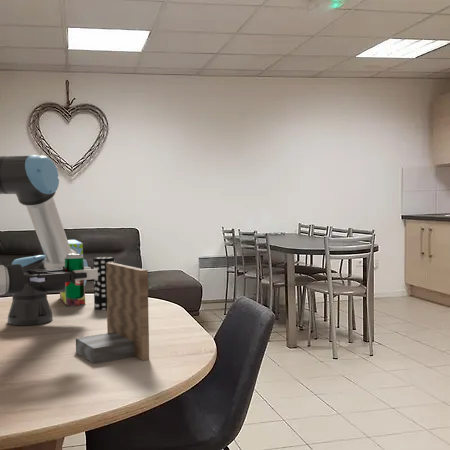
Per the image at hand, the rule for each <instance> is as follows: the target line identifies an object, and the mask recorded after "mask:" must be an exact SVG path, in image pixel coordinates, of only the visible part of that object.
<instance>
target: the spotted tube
mask: <svg viewBox="0 0 450 450" xmlns="http://www.w3.org/2000/svg"><path fill="white" fill-rule="evenodd" d="M115 258H116V257H114V256H97V257H93V263H92V265H93V269H98V279H93V299H94V302H93V303H94V307H93V308H94V309H95V310H98V311H105V310H106V311H107V286H106V263H111V262H113V263H116V261H115V260H116V259H115Z"/></svg>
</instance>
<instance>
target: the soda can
mask: <svg viewBox="0 0 450 450" xmlns="http://www.w3.org/2000/svg"><path fill="white" fill-rule="evenodd" d="M84 260H85V258H84V255H83V256H82V254H66V257H65V272H70V271H73V270H84ZM65 296H66V298H67V299H80V298H83V297H84V280H78V281H75V284H73V283H72V282H65Z"/></svg>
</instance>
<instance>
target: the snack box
mask: <svg viewBox="0 0 450 450" xmlns="http://www.w3.org/2000/svg"><path fill="white" fill-rule="evenodd" d="M67 240H68V243H69V246H70V249H72V250H74V251H75V252H76V253H77V254H82V256H83V257H84V244H83V242H81V241H79V240H77V239H67ZM85 287H86V286H85ZM85 287H84V297H83V298H80V299H67V298H66V296H65V292H59V298H60V299H61V301H62V300H63V301H62V302H63V303H64V305H65V304H66V305H75V306H81V305H80V304H85V305H86V292H85V291H86V290H85ZM66 305H65V306H66Z"/></svg>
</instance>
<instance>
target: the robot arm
mask: <svg viewBox="0 0 450 450" xmlns="http://www.w3.org/2000/svg"><path fill="white" fill-rule="evenodd" d="M59 184H60V179H59V172H58V168H57V166H56V165H55V162H53V160H52V159H51V158H50V157H48V156H46V155H37V154H31V155H9V156H8V155H7V156H6V155H0V195H16V197H17V200H18V202H19V203H20V204H21V205H22V206H25V207H26V209H27V212H28V215H29V217H30V220H31V223H32V225H33V227H34V231H35V233H36V235H37V239H38V242H39V243H40V247H41V250H42V251H43V252H42V253H43V254H38V255H33V256H25V257H20V258H16V259H15V258H14V260H13V261H12V262H11V264H7V265H3V264H0V296H1V295H5V294H8V295H11V296H12V301H11V304H10V308H9V311H8V315H7V323H9V325H11V324H12V325H13V326H35V325H42V324H46V323H49V322H52V321H53V318H54V317H53V314H54V313H53V312H52V308H51V306H50V303H49V300H48V293H60V292H65V282H72V283H73V284H75V281H78V280H84V287H86V284H87V281H88V280H94V279H98V269H94V268H91V266H88V262H87V259H84V270H73V271H70V272H65V257H66V254H77V253H76V252H75V251H74V250H72V249H70V246H69V243H68V240H69V239H68V238H67V235H66V231H65V229H64V226H63V225H64V224H63V222H62V219H61V217H60V214H59V211H58V208H57V206H56V202H55V199H54V197H55V195H56V193H57V191H58V188H59Z"/></svg>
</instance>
